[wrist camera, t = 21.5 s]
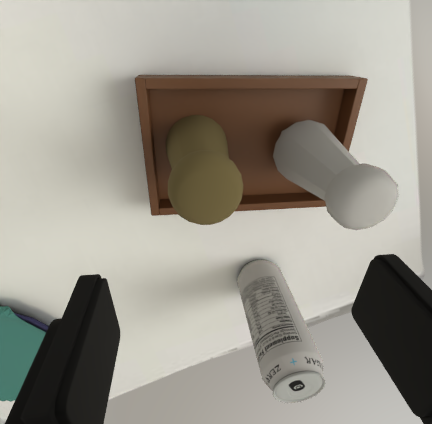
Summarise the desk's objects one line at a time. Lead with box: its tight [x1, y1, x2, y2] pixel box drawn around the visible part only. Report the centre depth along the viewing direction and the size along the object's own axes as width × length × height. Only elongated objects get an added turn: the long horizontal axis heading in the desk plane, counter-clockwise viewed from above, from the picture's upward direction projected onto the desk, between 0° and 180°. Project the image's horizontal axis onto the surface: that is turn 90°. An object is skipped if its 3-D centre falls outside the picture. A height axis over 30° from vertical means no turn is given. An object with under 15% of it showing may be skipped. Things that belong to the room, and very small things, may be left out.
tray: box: [135, 75, 368, 215], centre depth 27 cm, size 20×13×3 cm, turn 89°
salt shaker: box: [273, 120, 398, 230], centre depth 23 cm, size 6×6×13 cm
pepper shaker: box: [166, 115, 243, 225], centre depth 23 cm, size 6×6×11 cm
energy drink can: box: [237, 260, 325, 403], centre depth 32 cm, size 6×6×15 cm
